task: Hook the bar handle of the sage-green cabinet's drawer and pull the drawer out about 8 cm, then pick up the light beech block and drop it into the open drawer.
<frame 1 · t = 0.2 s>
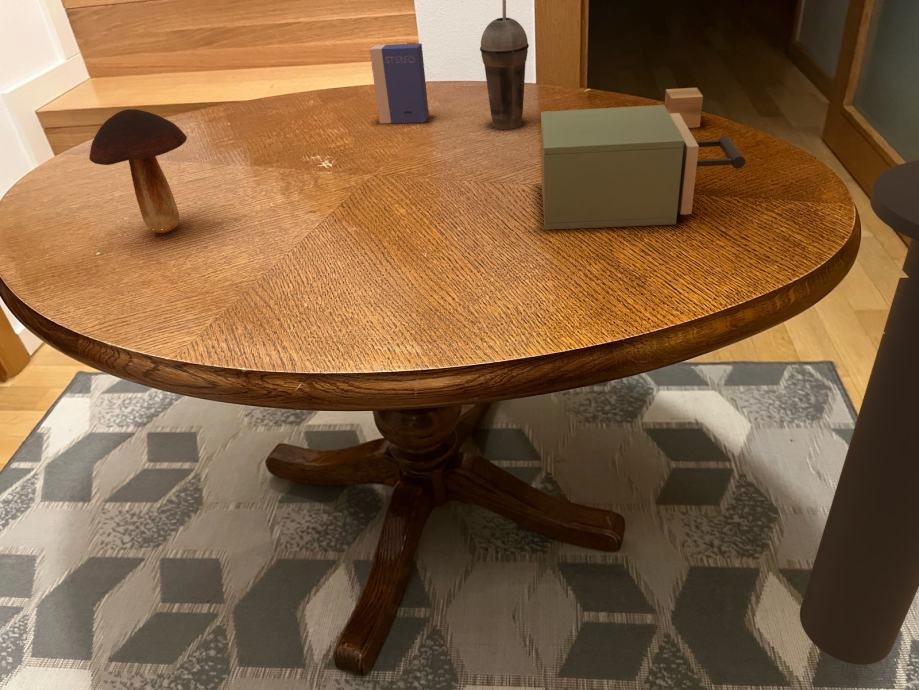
beverage cup: (507, 125, 115), on the table
walkman: (404, 121, 121), on the table
drawer: (650, 163, 84), point 5 cm above the table, slide at 0.5 cm
decorative mushroom: (167, 232, 91), on the table
cabinet: (604, 204, 87), on the table
block: (681, 123, 109), on the table
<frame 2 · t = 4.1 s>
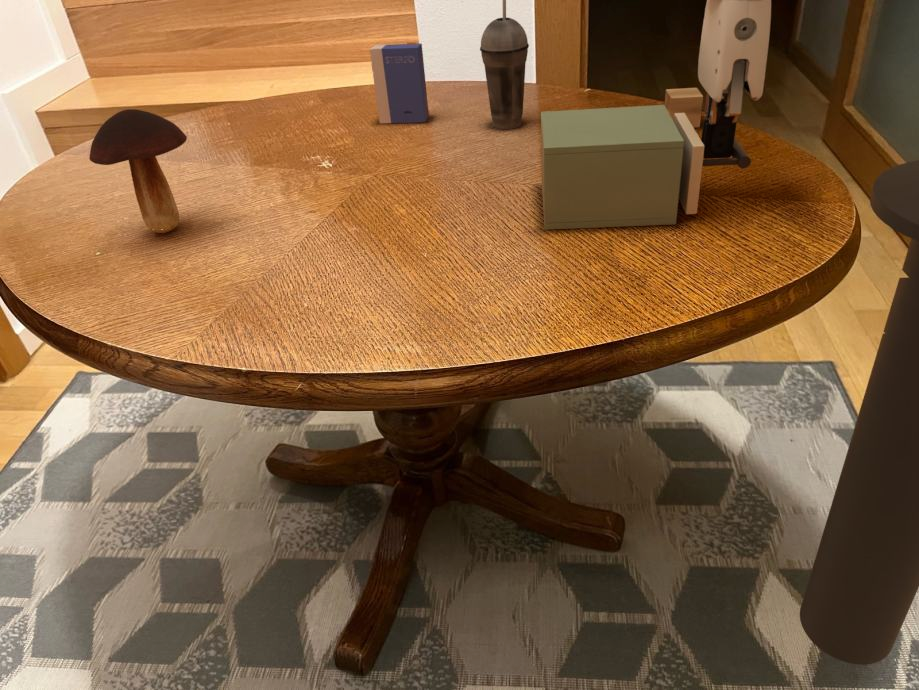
hand: (715, 155, 83), 5 cm above the table, tool pointing down, fingers closed
drawer: (655, 163, 84), point 5 cm above the table, slide at 1.1 cm
everything else where it was.
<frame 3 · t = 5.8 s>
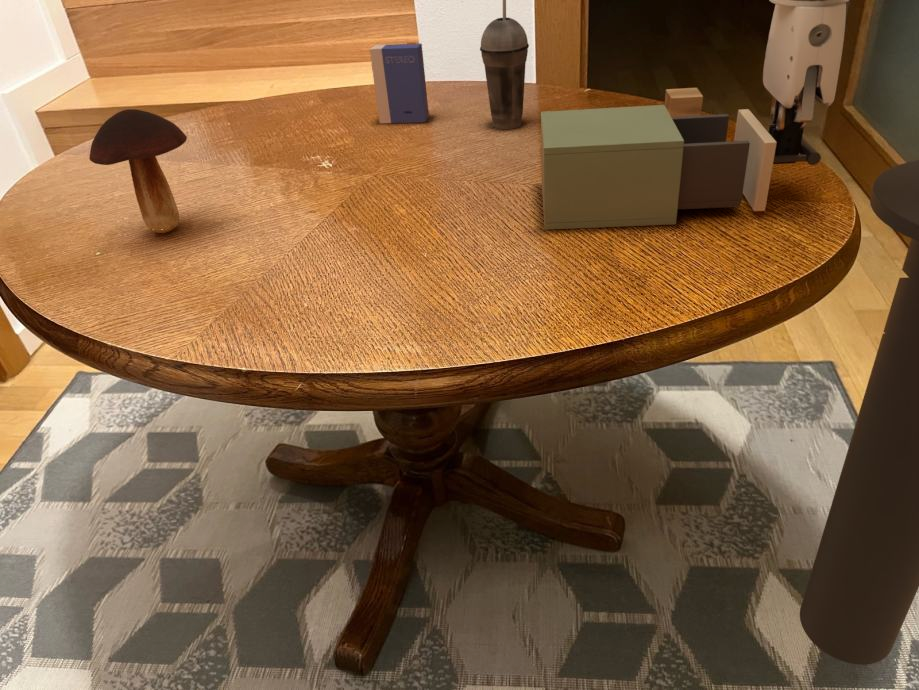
hand: (780, 160, 83), 4 cm above the table, tool pointing down, fingers closed
drawer: (721, 160, 84), point 5 cm above the table, slide at 8.4 cm
everything else where it was.
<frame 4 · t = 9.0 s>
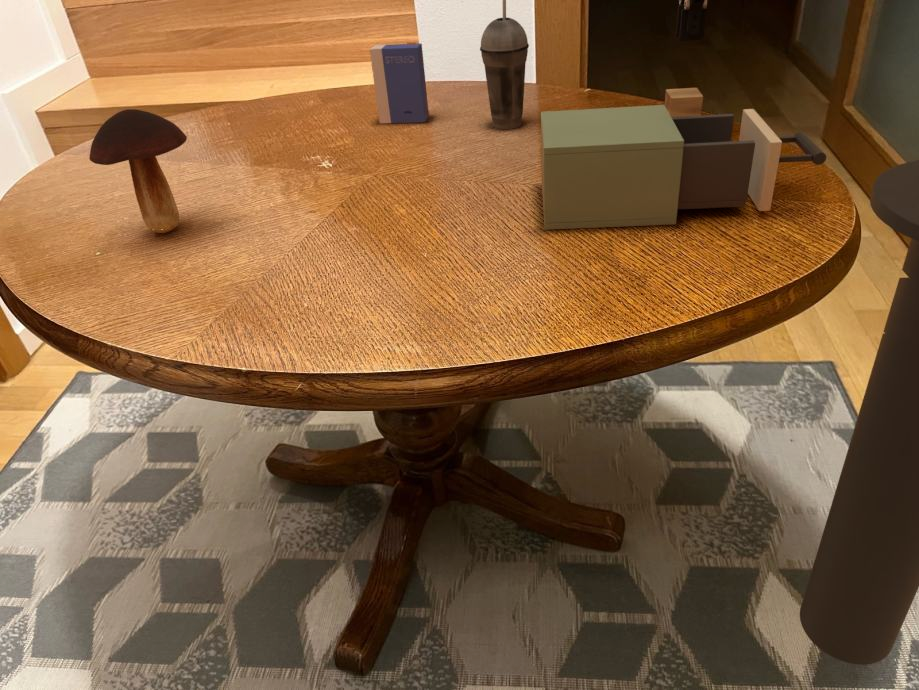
hand: (689, 36, 102), 12 cm above the table, tool pointing down, fingers closed
drawer: (726, 160, 83), point 5 cm above the table, slide at 9.0 cm
everything else where it was.
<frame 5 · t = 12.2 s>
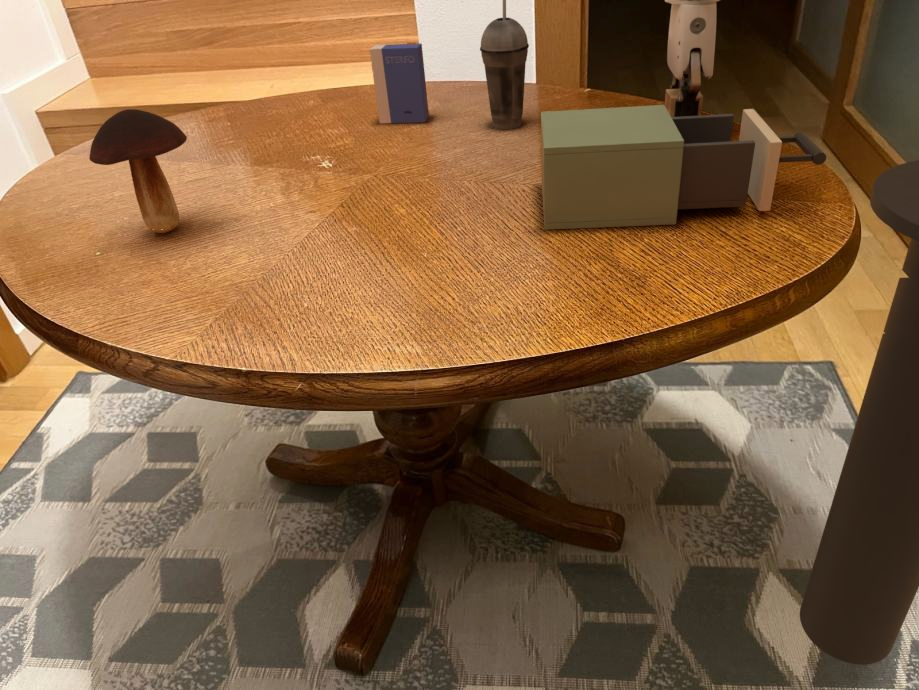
hand: (681, 120, 109), 0 cm above the table, tool pointing down, fingers closed on block, 4 cm apart
block: (681, 123, 109), on the table, touching gripper
everything else where it was.
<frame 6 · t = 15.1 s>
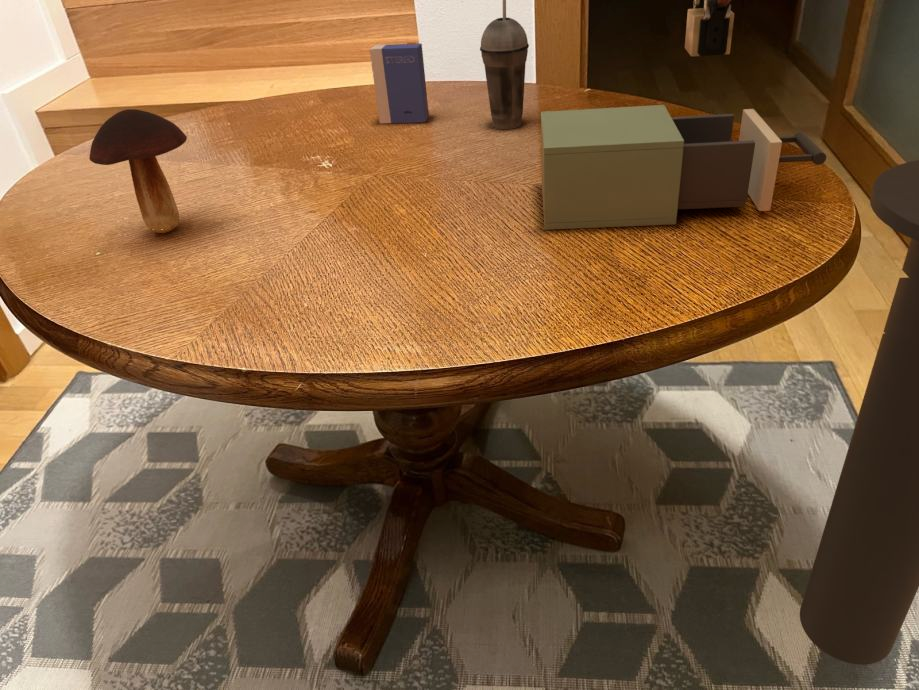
hand: (707, 47, 89), 14 cm above the table, tool pointing down, fingers closed on block, 4 cm apart
block: (706, 50, 89), point 14 cm above the table, touching gripper
everything else where it was.
when the fingers open (8 cm above the table, at t = 18.3 s): block drops 6 cm, resting on drawer.
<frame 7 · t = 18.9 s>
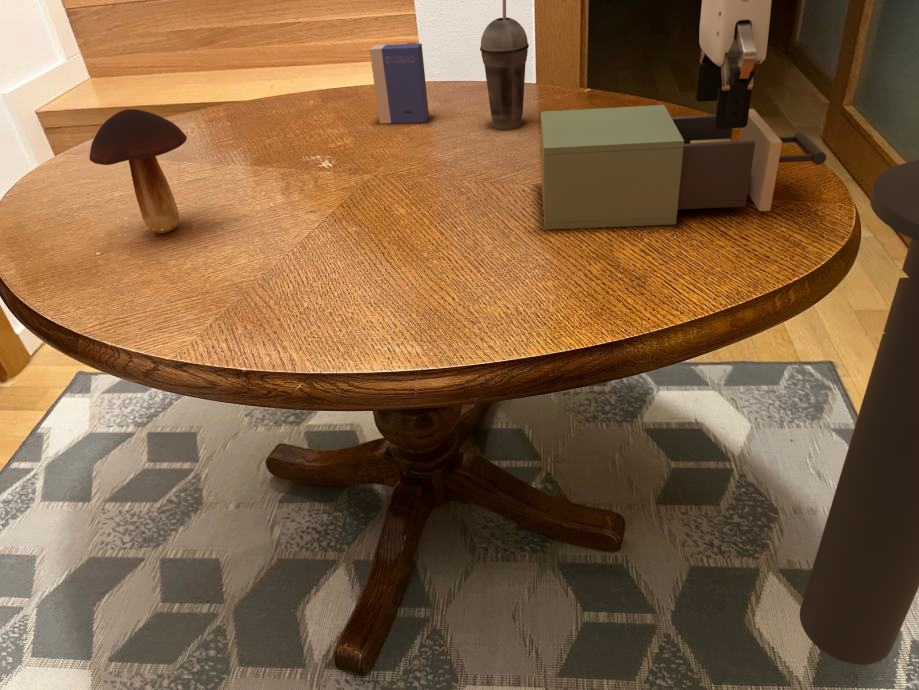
hand: (719, 113, 81), 10 cm above the table, tool pointing down, fingers open, 9 cm apart
drawer: (726, 160, 83), point 5 cm above the table, slide at 9.0 cm, touching block
block: (709, 183, 85), point 2 cm above the table, touching drawer
everything else where it was.
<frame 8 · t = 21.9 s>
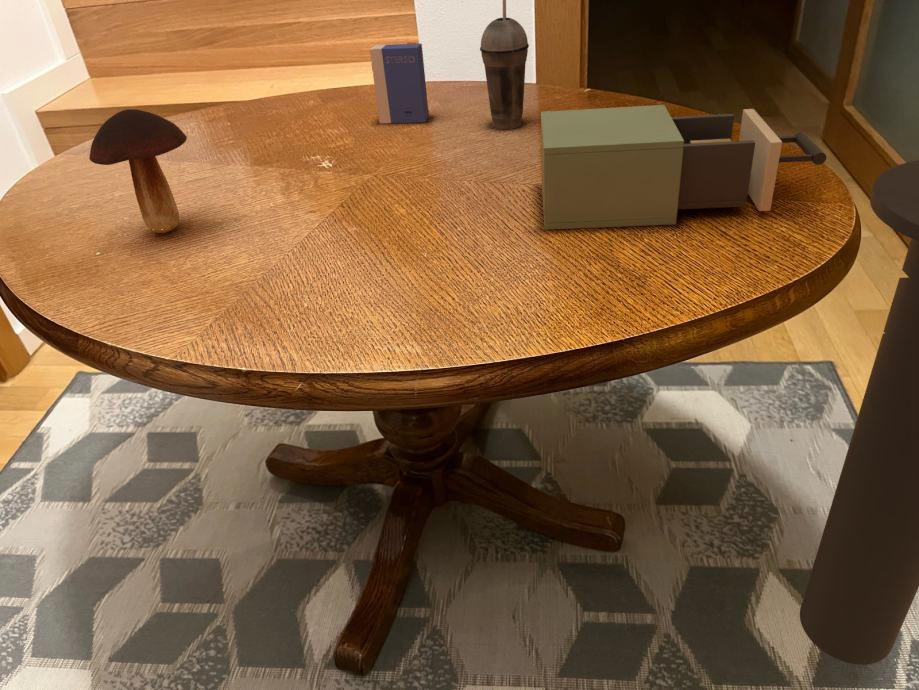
nothing on the table moved.
at the end: drawer slide at 9.0 cm; block inside the target area in the cabinet (7.0 cm from its centre), point 2.0 cm above the cabinet's base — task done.
